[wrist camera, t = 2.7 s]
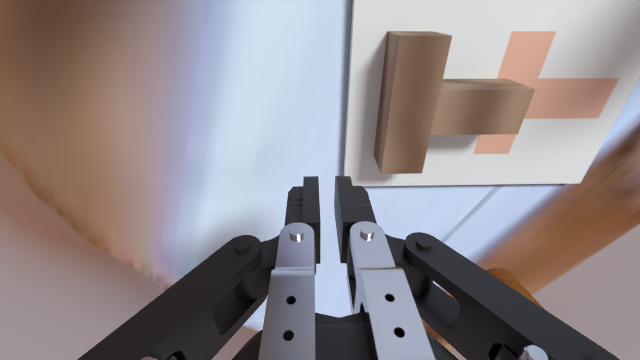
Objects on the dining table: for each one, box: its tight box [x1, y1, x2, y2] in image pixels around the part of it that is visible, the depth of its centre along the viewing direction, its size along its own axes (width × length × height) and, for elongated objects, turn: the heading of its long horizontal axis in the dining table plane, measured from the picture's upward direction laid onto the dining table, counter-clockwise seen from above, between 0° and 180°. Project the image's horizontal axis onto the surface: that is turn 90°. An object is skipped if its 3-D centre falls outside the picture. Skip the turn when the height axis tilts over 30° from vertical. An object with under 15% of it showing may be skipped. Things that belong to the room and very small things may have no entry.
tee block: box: [373, 31, 535, 174], centre depth 26 cm, size 12×12×4 cm
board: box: [343, 0, 640, 186], centre depth 29 cm, size 28×20×1 cm
